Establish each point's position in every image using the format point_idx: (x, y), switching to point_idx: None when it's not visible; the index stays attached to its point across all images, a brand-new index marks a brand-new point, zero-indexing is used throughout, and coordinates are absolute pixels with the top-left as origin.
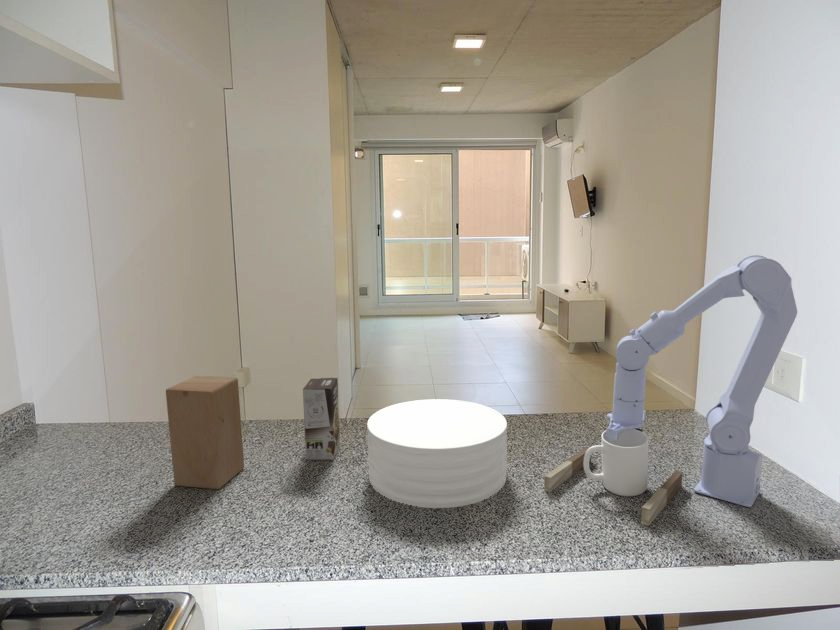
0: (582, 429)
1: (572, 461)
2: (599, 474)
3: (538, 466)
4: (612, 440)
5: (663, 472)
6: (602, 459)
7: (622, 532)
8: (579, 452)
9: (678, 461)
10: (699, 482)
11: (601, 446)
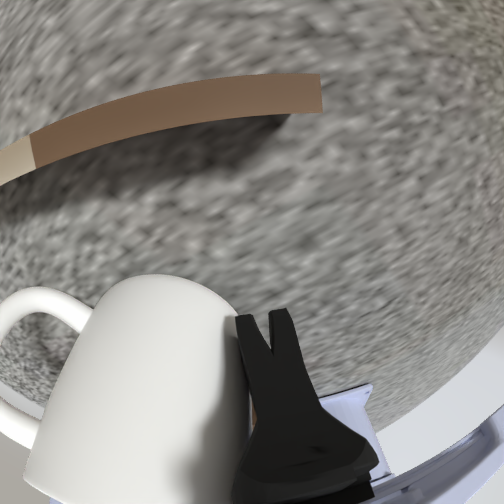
0: (495, 16)
1: (39, 165)
2: (67, 323)
3: (60, 6)
4: (165, 450)
5: (359, 335)
6: (57, 381)
7: (32, 381)
8: (184, 91)
9: (435, 315)
10: (329, 399)
11: (22, 444)
